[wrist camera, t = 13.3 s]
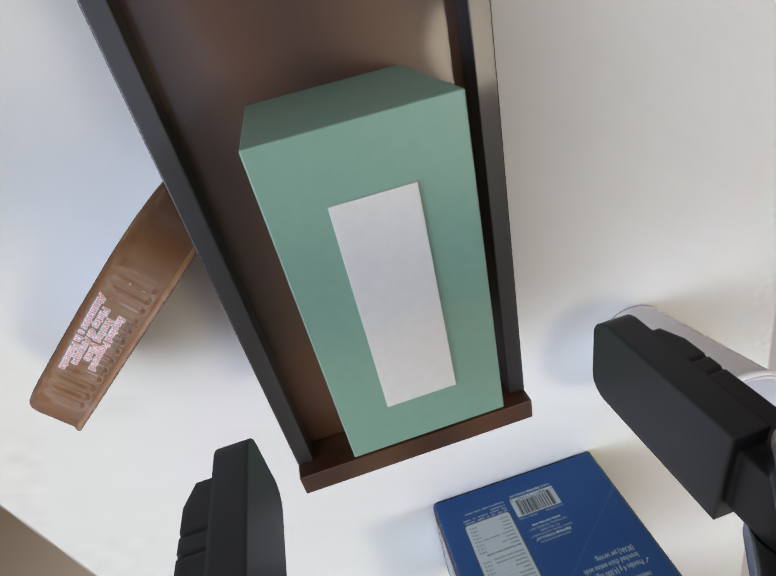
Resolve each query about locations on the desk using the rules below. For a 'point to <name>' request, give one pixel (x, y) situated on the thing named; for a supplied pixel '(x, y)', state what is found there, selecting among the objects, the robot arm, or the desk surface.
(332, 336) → the tissue box
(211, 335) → the desk surface
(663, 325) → the dixie cup
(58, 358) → the brown food box
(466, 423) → the box
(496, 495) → the protein box
